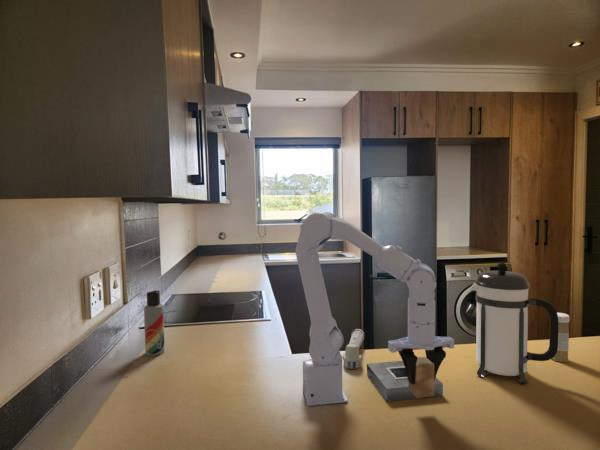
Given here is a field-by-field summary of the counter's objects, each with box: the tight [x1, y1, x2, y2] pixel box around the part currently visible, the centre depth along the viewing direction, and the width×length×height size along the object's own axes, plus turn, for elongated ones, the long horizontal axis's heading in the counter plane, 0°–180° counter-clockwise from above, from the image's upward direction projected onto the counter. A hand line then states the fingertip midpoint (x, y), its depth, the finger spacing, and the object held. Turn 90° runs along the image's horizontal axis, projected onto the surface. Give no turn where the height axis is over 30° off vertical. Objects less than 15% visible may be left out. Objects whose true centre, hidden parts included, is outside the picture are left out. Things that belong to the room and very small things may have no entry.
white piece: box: [342, 328, 365, 370], centre depth 113 cm, size 5×7×25 cm
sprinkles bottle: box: [551, 311, 571, 363], centre depth 106 cm, size 5×5×14 cm
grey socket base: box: [366, 360, 444, 402], centre depth 93 cm, size 14×14×3 cm
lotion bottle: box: [143, 289, 166, 357], centre depth 116 cm, size 6×6×20 cm
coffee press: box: [469, 262, 558, 386], centre depth 97 cm, size 17×16×30 cm
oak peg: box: [409, 356, 434, 399], centre depth 80 cm, size 4×4×7 cm
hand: (421, 381), depth 80 cm, fingers closed on oak peg, 4 cm apart
